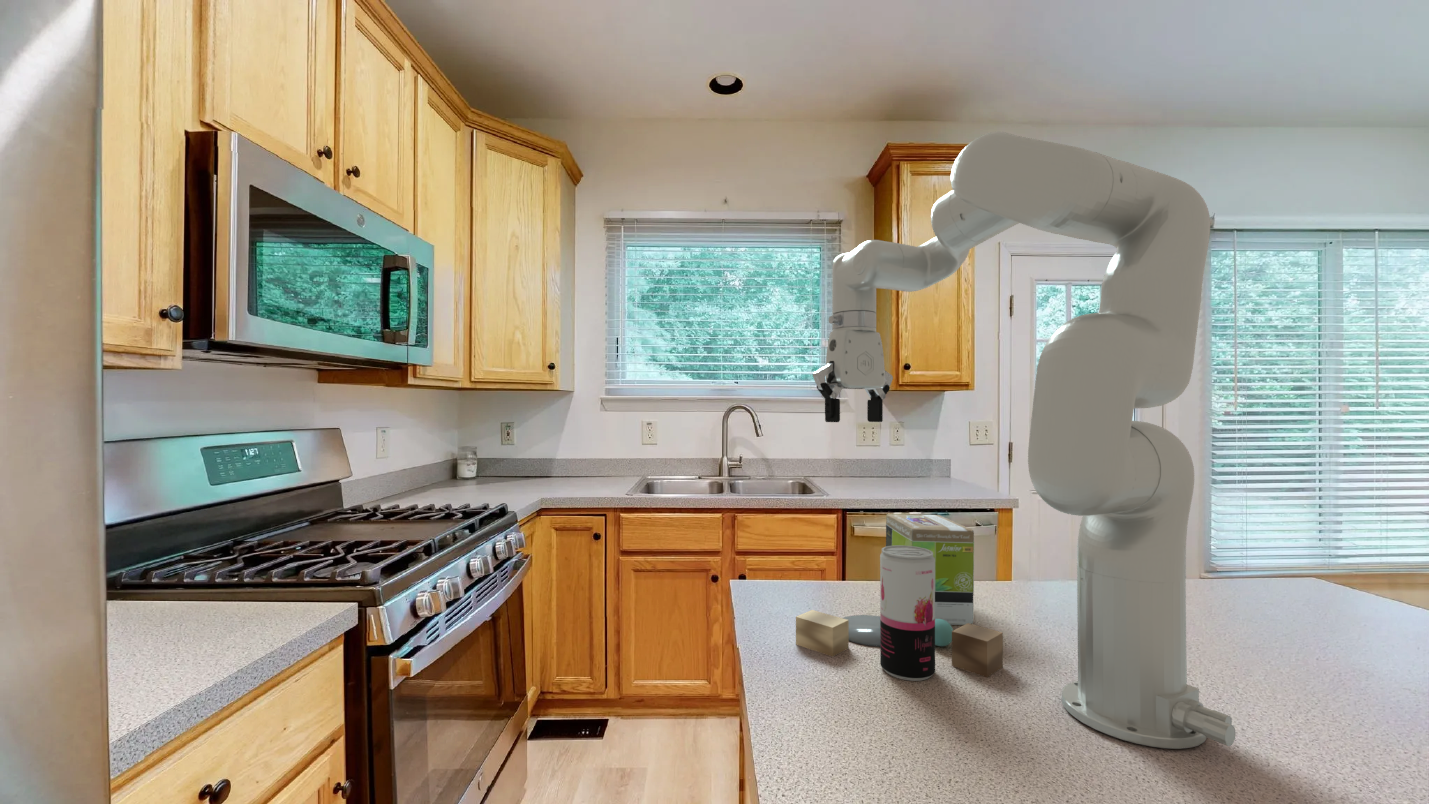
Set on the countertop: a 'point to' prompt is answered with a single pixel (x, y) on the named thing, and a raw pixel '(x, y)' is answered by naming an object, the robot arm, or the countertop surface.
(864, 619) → the grey round disc
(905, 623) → the beverage can
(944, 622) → the teal rubber ball
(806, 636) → the oak block
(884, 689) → the countertop surface
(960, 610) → the tea box
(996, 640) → the walnut cube
